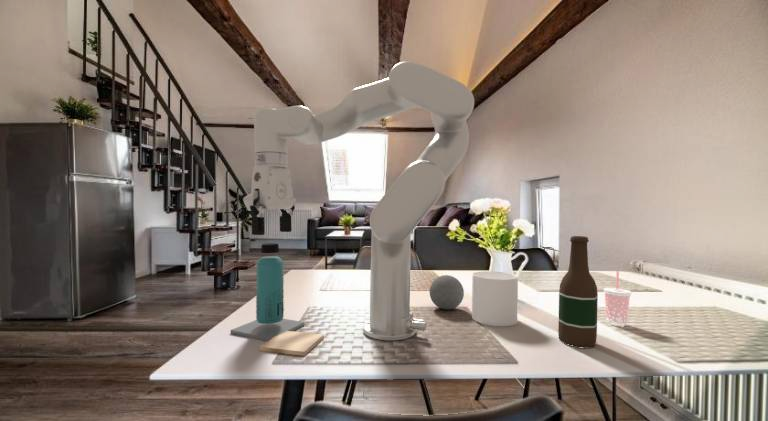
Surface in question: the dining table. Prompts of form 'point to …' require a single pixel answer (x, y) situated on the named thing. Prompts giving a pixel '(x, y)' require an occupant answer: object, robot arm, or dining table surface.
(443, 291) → the decorative ball
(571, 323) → the beer bottle
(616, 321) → the beverage cup
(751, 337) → the dining table surface
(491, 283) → the cup
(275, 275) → the beverage bottle
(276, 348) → the light wooden coaster
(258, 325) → the slate coaster
